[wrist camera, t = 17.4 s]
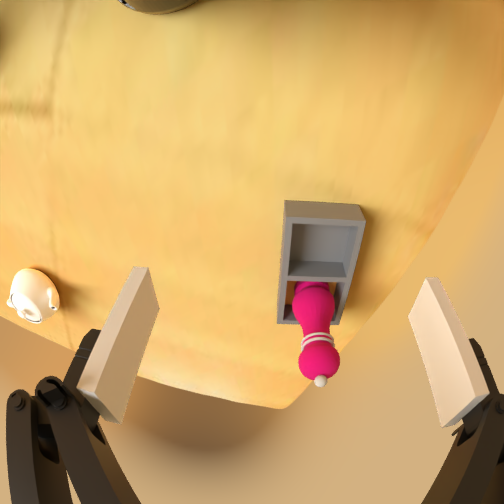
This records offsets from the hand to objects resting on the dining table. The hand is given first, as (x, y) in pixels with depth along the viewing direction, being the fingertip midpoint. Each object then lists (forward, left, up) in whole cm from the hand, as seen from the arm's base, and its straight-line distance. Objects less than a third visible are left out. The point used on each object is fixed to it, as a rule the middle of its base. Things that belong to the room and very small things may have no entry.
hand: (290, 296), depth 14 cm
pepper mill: (+7, -27, -31) cm, 42 cm away
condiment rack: (+7, -22, -32) cm, 39 cm away
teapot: (-54, -33, -32) cm, 71 cm away
